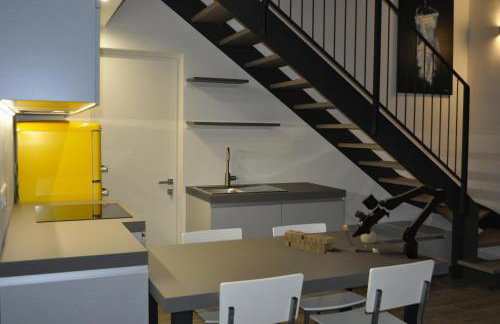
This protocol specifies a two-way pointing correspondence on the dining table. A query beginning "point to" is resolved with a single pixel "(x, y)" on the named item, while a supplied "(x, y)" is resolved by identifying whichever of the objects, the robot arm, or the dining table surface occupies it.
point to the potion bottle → (369, 237)
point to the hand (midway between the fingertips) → (352, 236)
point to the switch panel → (374, 251)
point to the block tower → (308, 241)
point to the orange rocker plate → (348, 235)
